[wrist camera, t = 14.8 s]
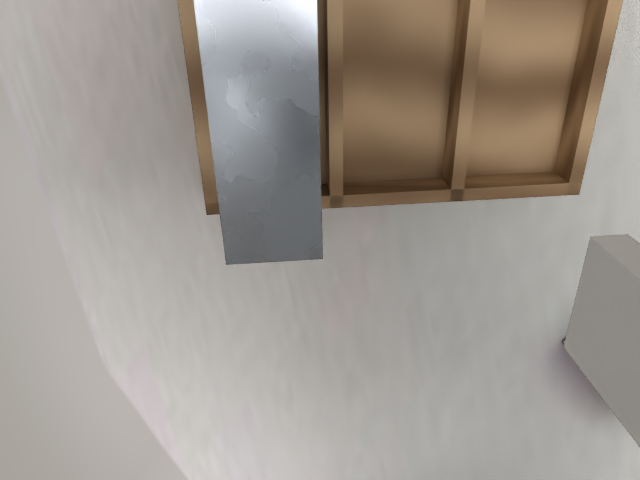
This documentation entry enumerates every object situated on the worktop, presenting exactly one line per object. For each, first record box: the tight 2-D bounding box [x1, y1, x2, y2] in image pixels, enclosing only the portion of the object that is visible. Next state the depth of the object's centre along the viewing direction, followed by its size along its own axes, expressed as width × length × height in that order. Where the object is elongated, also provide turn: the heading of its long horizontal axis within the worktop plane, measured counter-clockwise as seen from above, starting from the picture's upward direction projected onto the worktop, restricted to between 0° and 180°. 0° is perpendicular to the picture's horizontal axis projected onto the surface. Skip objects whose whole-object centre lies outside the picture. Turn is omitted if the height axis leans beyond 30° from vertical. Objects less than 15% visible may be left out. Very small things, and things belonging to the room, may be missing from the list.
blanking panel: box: [194, 0, 323, 265], centre depth 25 cm, size 10×4×12 cm, turn 1°
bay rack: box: [178, 0, 623, 215], centre depth 30 cm, size 15×23×3 cm, turn 91°
